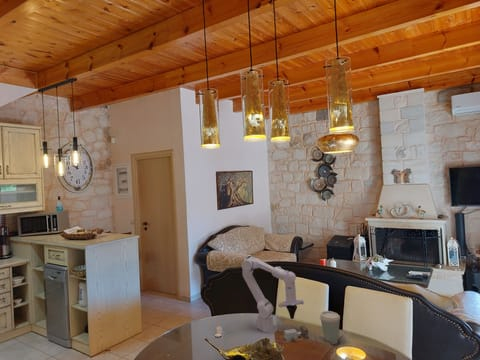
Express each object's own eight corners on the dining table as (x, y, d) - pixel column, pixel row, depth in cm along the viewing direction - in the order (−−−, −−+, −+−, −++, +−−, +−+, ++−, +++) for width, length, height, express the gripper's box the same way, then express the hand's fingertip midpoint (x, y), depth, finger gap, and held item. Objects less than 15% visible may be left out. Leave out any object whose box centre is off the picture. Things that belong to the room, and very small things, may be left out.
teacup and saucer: (219, 339, 192) (219, 332, 192) (209, 336, 197) (208, 329, 197) (229, 333, 199) (228, 326, 199) (219, 330, 204) (218, 324, 204)
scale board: (279, 348, 176) (278, 336, 176) (271, 339, 187) (271, 328, 188) (311, 343, 180) (310, 331, 180) (301, 334, 192) (301, 323, 192)
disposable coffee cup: (344, 339, 182) (342, 311, 183) (338, 348, 173) (337, 318, 174) (324, 336, 188) (323, 309, 188) (318, 344, 178) (316, 315, 179)
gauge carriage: (289, 343, 178) (288, 335, 178) (284, 337, 185) (283, 330, 185) (304, 340, 181) (304, 332, 181) (299, 335, 187) (299, 328, 187)
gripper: (281, 297, 187) (282, 322, 186) (305, 294, 190) (306, 319, 190) (276, 294, 193) (278, 318, 193) (300, 291, 197) (301, 314, 196)
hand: (292, 318), depth 192 cm, fingers closed
